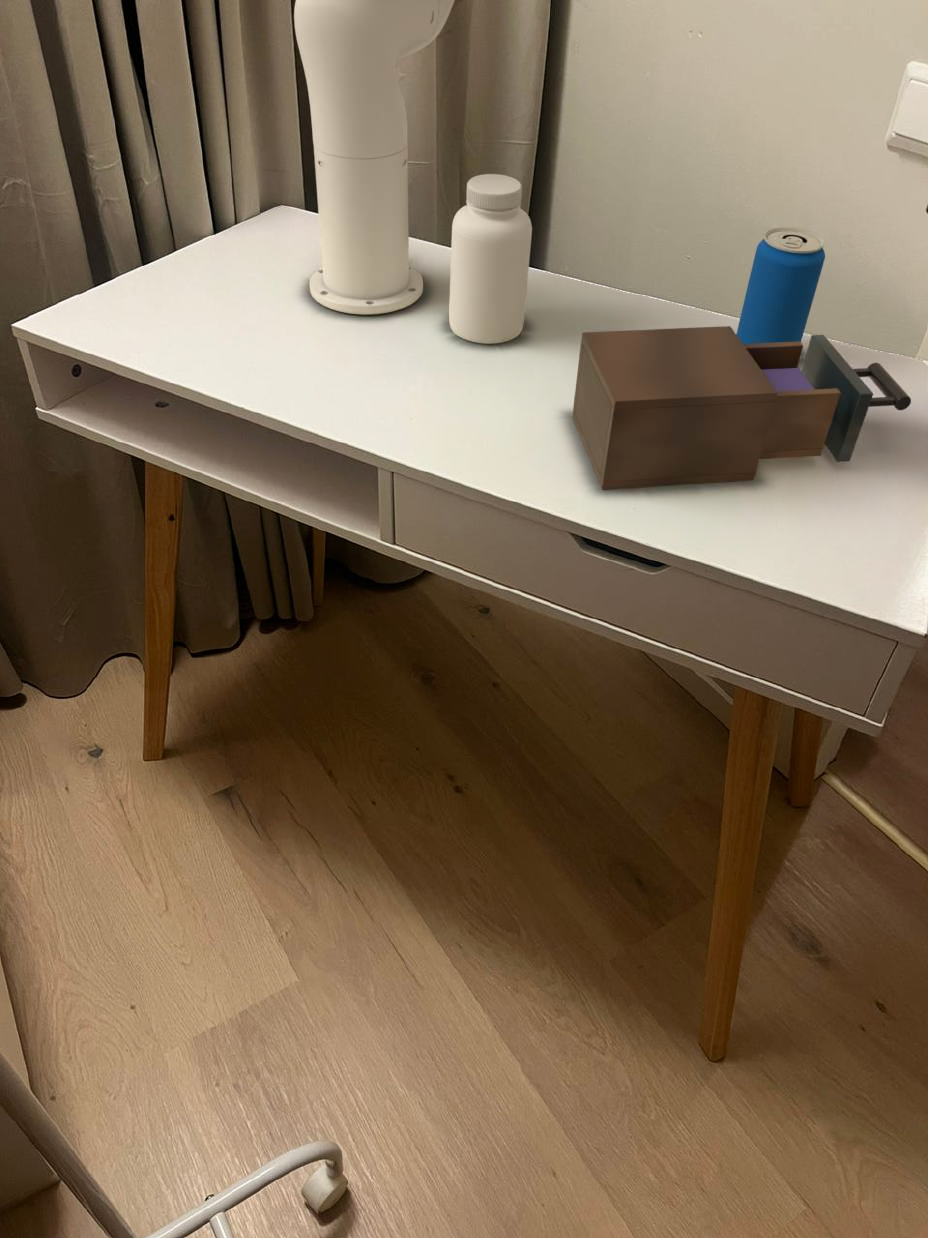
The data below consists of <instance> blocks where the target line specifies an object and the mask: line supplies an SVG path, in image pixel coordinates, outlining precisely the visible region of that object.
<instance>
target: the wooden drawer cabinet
mask: <svg viewBox="0 0 928 1238" xmlns="http://www.w3.org/2000/svg"><path fill="white" fill-rule="evenodd" d="M736 334H737V333H736V332H735V331H734V330H733V328H732V327H731V326H730V325H724V326H702V327H701V326H700V327H699V326H698V327H676V328H655V329H653V328H652V329H632V330H607V331H605V330H604V331H585V332H584V331H583V332H581V338H580V348H579V357H578V365H577V373H576V380H575V390H574V398H573V406H572V407H573V408H572V416H571V417H572V420H573V422H574V425H575V428H576V429H577V432H578V435H579V437H580V440H581V441H582V444H583V447H584V449H585V451H586V454H587V456H588V459H589V461H590V464H591V466H592V468H593V471H594V473H595V476H596V479H597V481H598V483H599V486H600V488H601V490H617V489H631V488H633V489H634V488H648V487H663V486H679V485H680V486H681V485H697V484H710V483H711V484H712V483H713V484H714V483H729V482H743V481H744V482H746V481H754V480H755V476H756V472H757V470H758V466H759V462H760V460H761V459H760V455H761V452H762V448H763V445H764V441H765V437H766V434H767V430H768V426H769V423H770V419H771V416H772V412H773V408H774V405H775V401H776V398H777V394H778V393H777V391H776V390H775V388H774V387H773V386H772V384H771V383H770V381H769V380H768V379H767V377H766V376H765V374H764V373H763V372H762V370H761V369H760V367H759V366H758V365H757V363H756V362H755V360H754V359H753V358H752V356H751V355H750V353H749V352H748V351H747V349H746V348H745V346H744V345H743V344H742V342H741V341H740V339H739V338H738V337H737V335H736Z"/></svg>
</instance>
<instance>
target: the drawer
mask: <svg viewBox="0 0 928 1238" xmlns="http://www.w3.org/2000/svg"><path fill="white" fill-rule="evenodd" d="M743 345H744V346H745V348H746V349H747V351H748V352H749V353H750V355H751V356H752V358H753V359H754V360H755V362H756V363H757V365H758V366H759V367H760V369H761V370H765V369H786V368H798V365H799V361H800V359H801V355H802V351H803V348H804V345H803V344H802V341H801V342H800V341H799V342H776V343H754V344H743ZM805 353H806V354H805V357H804V360H803V364H802V367H801V369H800V371H801V372H802V373H803V375H804V376H805V377H806V378H807V380H808V381H809V382H810V384H811V385H812V386H813V388H814V389H813V390H794V391H777V393H778V394H777V398H776V401H775V405H774V408H773V412H772V416H771V419H770V423H769V426H768V430H767V434H766V437H765V441H764V445H763V448H762V452H761V455H760V459H759V460H771V459H772V460H776V459H791V458H793V459H794V458H809V457H821V456H822V453H823V450H824V447H826V449H827V450H828V452H829V453H830V454H831V456H832V457H833V458H834V460H835V461H836V463H847V462H851V459H852V456H853V454H854V450H855V448H856V445H857V442H858V439H859V436H860V433H861V431H862V428H863V425H864V422H865V419H866V417H867V413H868V410H869V408H874V407H889V406H892V407H894V408H895V409H896V410H898V411H904V410H906V409H908V408H909V407H910V405H911V404H912V398H911V397H910V396H909V395H908V394H907V392H906V391H905V390H904V389H903V388H902V386H901V385H899V383H898V382H897V381H896V380H895V379H894V378H893V377H892V375H891V374H889V372H888V371H887V370H886V369H885V368H884V367H883V366H882V364H881V363H880V362H873V363H870V364H869V365H868V366H867V367H861V368H852V367H851V365H850V364H849V363H848V361H846V359H845V357H843V356H842V354H841V353H840V352H839V351H838V350H837V349H836V347H834V345H833V344H832V343H831V341H830V340H829V339H828V338H827V337H826V336H825V334H812V335H811V336H810V339H809V341H808V346H807V350H806V352H805ZM862 378H869V379H870V380H871V382H872V383H873V384H874V385H875V386H876V387H877V388H878V390H879V391H880V392H881V393H882V394H883V395H884V396H880V397H878V396H877V397H873V396H874V393H873V391H872V390H871V389H870V387H868V385H867V384H866V383H865V382H864V380H863V379H862Z"/></svg>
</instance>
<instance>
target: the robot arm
mask: <svg viewBox="0 0 928 1238" xmlns="http://www.w3.org/2000/svg"><path fill="white" fill-rule="evenodd" d="M454 3H455V0H295V3H294V11H293V12H294V13H293V21H294V25H293V26H294V31H295V38H296V42H297V47H298V50H299V54H300V60H301V62H302V66H303V71H304V76H305V80H306V86H307V92H308V100H309V109H310V118H311V130H312V131H311V132H312V144H313V155H314V157H313V158H314V169H315V171H314V172H315V184H316V194H317V195H316V197H317V212H318V226H319V239H320V240H319V241H320V251H321V252H320V254H321V265H322V266H320V267H319V268H317V269H316V270H315V271H314V272H313V273H312V275H311V276H310V278H309V293H310V295H311V297H312V298H313V299H314V300H315V301H316V302H318V303H319V304H320V305H322V306H323V307H325V308H328V309H330V310H333V311H336V312H340V313H346V314H351V315H379V314H380V315H381V314H386V313H387V314H388V313H391V312H395V311H396V312H397V311H399V310H403V309H405V308H407V307H409V306H411V305H413V304H414V303H415V302H417V301H418V300H419V299H420V297H421V296H422V294H423V293H424V279H423V276H422V275H421V274H420V272H419V271H418V270H416V269H415V268H414V267H412V266H411V265H410V248H409V247H410V241H409V238H410V237H409V232H410V231H409V156H408V155H409V151H408V150H409V149H408V148H409V147H408V143H409V142H408V118H407V117H408V116H407V110H406V104H405V99H404V96H403V92H402V90H401V86H400V84H399V80H398V76H397V73H396V72H397V71H396V62H398V61H399V60H401V59H404V58H406V57H408V56H410V55H412V54H415V53H417V52H419V51H421V50H422V49H424V48H426V47H427V46H429V45H430V44H431V43H432V42H433V41H434V40H435V39H436V38H437V37H438V35H440V34H441V31H442V30H443V28H444V26H445V24H446V22H447V20H448V18H449V16H450V13H451V11H452V9H453V7H454V6H453V5H454ZM925 212H926V214H928V204H927V205H926V209H925Z"/></svg>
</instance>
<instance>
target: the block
mask: <svg viewBox="0 0 928 1238" xmlns="http://www.w3.org/2000/svg"><path fill="white" fill-rule="evenodd" d="M762 372H763V373H764V374H765V376H766V377H767V379H768V380H769V381H770V383H771V384H772V386H773V387H774V388H775V390H776V391H794V390H813V389H814V388H813V386H812V385H811V384H810V382H809V381H808V380H807V378H806V377H805V376H804V375H803V373H802V372H801V369H800V368H799V367H797V368H786V369H765V370H762Z"/></svg>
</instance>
